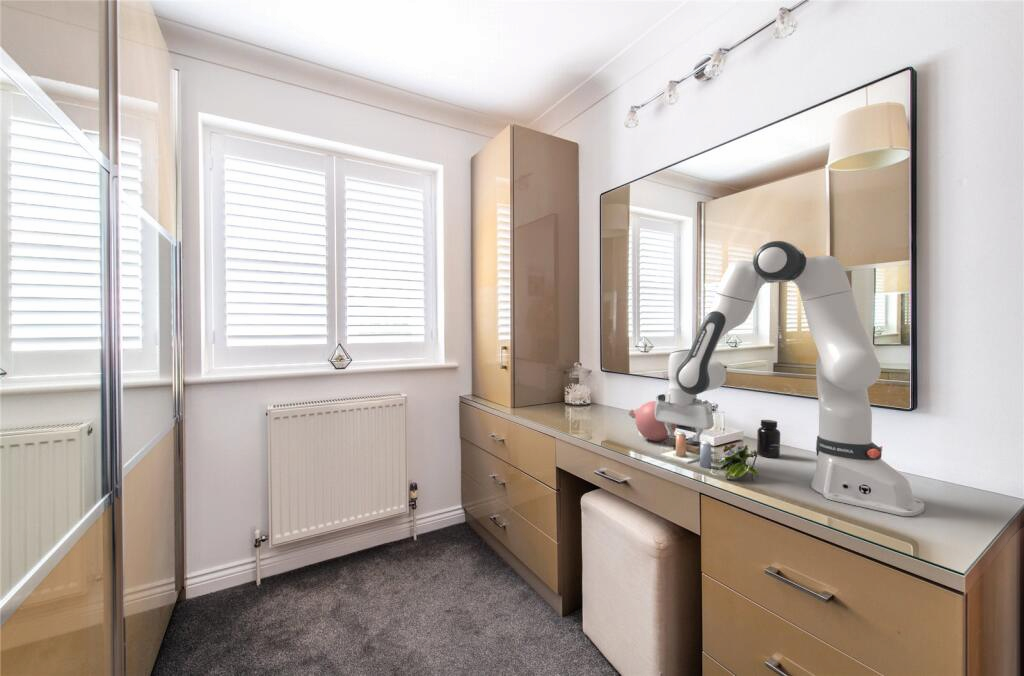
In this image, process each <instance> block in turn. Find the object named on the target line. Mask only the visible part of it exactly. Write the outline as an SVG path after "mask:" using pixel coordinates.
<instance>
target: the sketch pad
mask: <svg viewBox="0 0 1024 676" xmlns="http://www.w3.org/2000/svg"><path fill="white" fill-rule="evenodd" d="M660 457H663V458H667V459H670V460H674V461H677V462H680V463H684V464H690V463H693V462H696V461H700V455H697V454H693V453H689V452H686V457H678V456H676V449H674V450H671V451H668V452H663V453H661V454H660Z"/></svg>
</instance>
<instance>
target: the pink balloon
mask: <svg viewBox="0 0 1024 676" xmlns="http://www.w3.org/2000/svg"><path fill="white" fill-rule="evenodd" d="M656 402H657V400H652V401H649V402H645V403H644V404H642V405H641V406H640V407H639V408H636V409H629V410H628V411H627V413H628V415H629V416H630V418H632V419H635V425H636V428H637V431H638V432H639V433H640V434H641V435H642V436H643V437H644V438H645V439H647V440H650V441H653V442H662V441H666V440H667V439H669V438H671V437H672V436H669V435H668V430H667V429H666V427H665V423H664V422H661V421H657V420H656V418H655V404H656ZM677 425H678V424H672V425H670V426H671V428H672V430H674V433H675V432H676V430H677Z"/></svg>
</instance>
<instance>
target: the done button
mask: <svg viewBox="0 0 1024 676" xmlns="http://www.w3.org/2000/svg"><path fill="white" fill-rule="evenodd" d="M687 441H688V445H692V446H699V442H700V440H699V441H693V436H690V437H687Z"/></svg>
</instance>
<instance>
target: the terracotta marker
mask: <svg viewBox="0 0 1024 676" xmlns="http://www.w3.org/2000/svg"><path fill="white" fill-rule="evenodd" d="M686 441H687V435H686V433H685V431H684V432H683V431H677V432H676V434H675V450H676V456H678V457H686Z"/></svg>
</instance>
